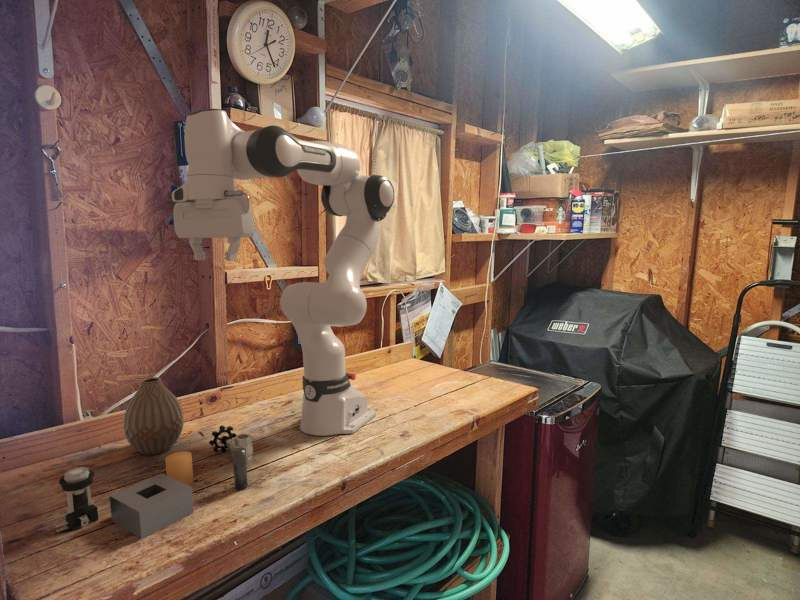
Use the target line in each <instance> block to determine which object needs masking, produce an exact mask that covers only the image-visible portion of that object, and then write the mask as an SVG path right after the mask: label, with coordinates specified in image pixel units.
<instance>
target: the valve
mask: <svg viewBox="0 0 800 600" xmlns="http://www.w3.org/2000/svg"><path fill="white" fill-rule="evenodd" d="M218 429H219V431H216V430H214V431H212V432H211V436H213V439H211V440H210V441H209V442H208V444H209V445H210V446H213V448H212V451H213V452H215V453H218V452H219V449H220V451H221V453H226V452H227V451H228V448H229V451H230V452H232V451H233V450H234V449H236V448H245V449H246V463H247V467H249V466H251V465H252V464H253V463H254V456H253V453H254V446H253V437H252V435H251V434H250V433H240V434H237V433H235V432H231V431H233V430H234V427H233V426H227V428H226V426H225V425H222V424H221V425H220V426H219V428H218ZM223 433H227V434H228V435H224V434H223ZM222 434H223V435H222ZM220 435H221V436H220ZM218 441H219V443H221V444H222V445H219V444H218Z"/></svg>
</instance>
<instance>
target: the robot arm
mask: <svg viewBox="0 0 800 600" xmlns="http://www.w3.org/2000/svg"><path fill="white" fill-rule="evenodd" d="M184 150H185V152H184V153H185V157H186V159H187V164H188V165H187V166H188V167H187V173H186V182H184V183H183V184H182V185H180V186H178V188H177V189H175V190H173V191H172V192H171V200H172V201H173V202H174V206H173V213H172V214H173V227H174V232H175V234H176V236H177V238H179V239H188V244H189V245H190V248H191V250H192V251H193V258H194V261H205V260H206V258H207V257H206V255H207V254H206V253H207V252H206V251H204V250H203V247H202V245H201V244H203V239H211V238H216V239H218V238H219V239H223V238H227V240H226V241H227V244H229V245H228V249H227V251H225V252H224V256H225V258H224V259H225V261H226V262H236V261H237V260H238V253H237V252H238V251H239V248H240V246H241V244H242V242H241V241H242V240H241V239H242V238H247V239H248V238H252V237H253V236H254V234H255V222H254V214H253V209H252V206H251V202H250V196H249V195H248V193H246V192H245V191H244V190H242V189H237V190H235V183H234V182H235V180H240V181H241V180H242V181H243V180H254V179H260V178H261V179H262V178H283V177H286V176H287V177H288V176H289V175H290V174H292V173H293V172H295V171H297V173H298V175H299V177H300V178H301V180H303V181H304V182H306V183H309V184H312V185H315V186H316V185H317V186H322V187H321V191H320V192H321V193H320V194H321V195H320V199H321V203H322V206H323V208H324V210H325V211H326V213H328V214H329V215H332V216H335V217H343V216H344V217H346V219H345V223H344V226H343V227H342V229H341V230H340V231H339V233H338V235H337V236H336V237H335V239H334V240H333V242H332V244H331V246H330V248H329V250H328V252H327V254H326V255H325V256H324V260H323V263H324V268H325V270H326V273H327V274H328V277H327V279H326V280H325V281H324V282H313V281H301V282H296V283H293V284H289V285H288V286H286V287H285V288H284V289H283V291H282V293H281V295H280V300H279V302H280V303H279V304H280V305H279V306H280V310H281V311H282V313H283V315H284V316H285V317H286V318H288V320H289V321H290V322H291V323H292V326H293V327H294V329H295V331H296V335H297V337H298V339H299V342H300V346H301V350H302V361H303V376H302V382H301V383H302V391H303V395H302V407H301V408H302V409H301V415H300V417H299V420H300V424H299V429H300V431H301V432H303V433H305V434H308V435H313V436H322V437H323V436H333V435H341V434H342V435H343V434H345V435H347V434H354V433H355V432H356V431H358V430H359V429H361V428H362V427H363V426H364V425H365V424H367V423H368V422H369V421H371V420H372V419H373V418H374V417H375V416H377V412H376V410H374V409H373V408H371V407H368V399H367V397H366V395H365V394H364V392H362V391H360V390H358V389H357V388H356V387H354V386H353V385H351V382H350V380H352V381H355V380H356V378H357V373H356V372H351V371H350V372H349V371H348V373H347V371H346V349H345V345H344V343H343V342H342V341H341V340H340V339H339V338H338V336H336V335H335V333H334V331H333V329H332V328H331V327H339V328H340V327H341V328H342V327H349V326H355V325H358V324H360V323H361V321H362V320H363V319H364V317H365V315H366V313H367V309H368V306H367V305H368V303H367V298H366V295H365V293H364V291H362V289H361V279H362V277H363V276H362V275H364V272H365V269H366V267H367V265H368V263H369V261H370V259H371V257H372V255H373V254H374V251H375V248H376V246H377V243H378V240H379V237H380V231H381V230H380V226H379V224H378V222H381V221H382V220H384V219H386V217H387V213H389V212H390V211H391V208H392V206H393V204H394V201H395V189H394V186H393V184H392V182H391V180H390V179H389V178H388V177H387V176H385V175H379V174H372V175H361V174H360V170H361V161H360V157H359V155H358V154H357V153H356V151H354V150H353V149H352V148H349V146H348V147H347V146H346V145H343V144H340V143H337V142H332V141H328V140H327V141H326V140H311V141H310V140H304V139H300V138H298V137H296V136H294V135H293V134H292V133H290V132H289V131H288V130H286V129H285V128H283V127H281V126H278V125H268V126H265V127H261V128H259V129H253V130H248V131H245V130H243V129H241V128H240V127H239V126H237V125H236V124H235V123H234V122H233V121H232V120H231V118H229V117H228V114H227V111H225V110H223V109H221V108H205V109H198V110H194V111H191V112H190V113H189V114H188V115H187V116H186V120H185V125H184ZM234 179H235V180H234Z"/></svg>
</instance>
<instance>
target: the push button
mask: <svg viewBox="0 0 800 600" xmlns="http://www.w3.org/2000/svg"><path fill="white" fill-rule="evenodd" d="M94 477H95V471H93V470H91V469H89V468H88V467H85V466H84V467H83V466H80V467H79V466H78V467H75V468H72V469H69V470H67V471H66V472H65V473H64V476H62V477H60V478H59V480H58V483H59V485H60V486H61V489H62V491H64V492H66V500H67V510H66V513H65V514H64V516H63V517H64V521H62V522H61V523H58V524H55V527H56V528H58V529H56V530H55V531H56V533H59V532H61V531H64V530H69V531H73V530H76V529H78V528H81V527H85V526H87V525H88V524H89V523H92V522H93V523H94V522H97V521H99V510H98V506H96V505H95V504H94V501H93V500H92V494H91V493H92V492H91V485H92V484H93V483H94ZM59 527H60V528H59Z"/></svg>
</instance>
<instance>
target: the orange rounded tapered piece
mask: <svg viewBox="0 0 800 600" xmlns="http://www.w3.org/2000/svg"><path fill="white" fill-rule="evenodd" d="M193 470H194V469H193V457H192V453H191V452H189V451H178V452H177V451H175V452H173V453H170V454H169V455H167V456H166V457H165V472H166V476H169V477H171V478H173V479H175V480H178V481H180V482H182V483H184V484H186V485H189V486H192V485H191V484H192V483H193V484H194V473H193V472H194V471H193Z"/></svg>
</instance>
